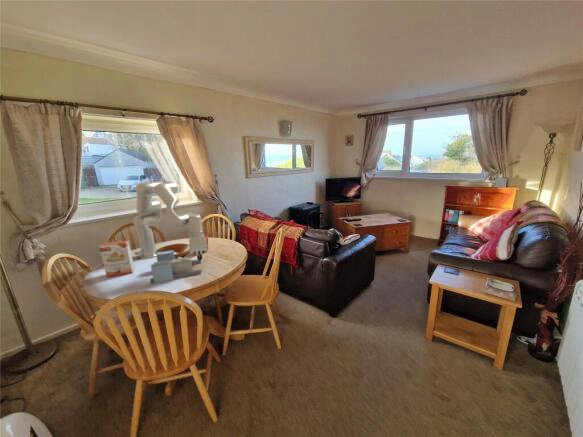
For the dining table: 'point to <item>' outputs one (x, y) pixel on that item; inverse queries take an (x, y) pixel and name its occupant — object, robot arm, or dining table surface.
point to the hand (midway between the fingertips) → (200, 260)
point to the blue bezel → (163, 267)
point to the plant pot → (206, 242)
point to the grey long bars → (185, 272)
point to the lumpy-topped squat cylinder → (181, 265)
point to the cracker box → (117, 258)
